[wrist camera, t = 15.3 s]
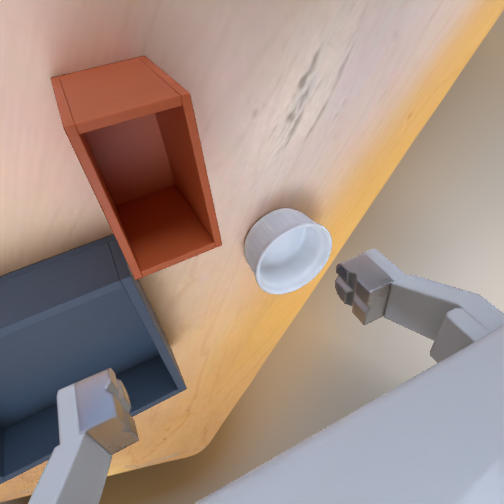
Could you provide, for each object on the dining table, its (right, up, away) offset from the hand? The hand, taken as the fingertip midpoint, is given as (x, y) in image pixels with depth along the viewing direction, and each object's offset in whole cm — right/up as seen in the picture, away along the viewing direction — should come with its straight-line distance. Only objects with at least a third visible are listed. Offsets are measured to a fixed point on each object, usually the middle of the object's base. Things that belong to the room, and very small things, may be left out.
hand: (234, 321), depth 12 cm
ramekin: (+3, +4, +27) cm, 28 cm away
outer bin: (-18, -6, +22) cm, 29 cm away
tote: (-9, +10, +14) cm, 20 cm away
